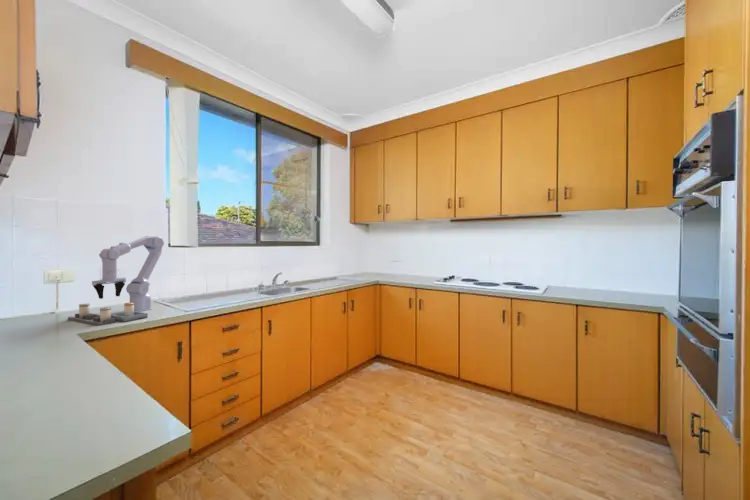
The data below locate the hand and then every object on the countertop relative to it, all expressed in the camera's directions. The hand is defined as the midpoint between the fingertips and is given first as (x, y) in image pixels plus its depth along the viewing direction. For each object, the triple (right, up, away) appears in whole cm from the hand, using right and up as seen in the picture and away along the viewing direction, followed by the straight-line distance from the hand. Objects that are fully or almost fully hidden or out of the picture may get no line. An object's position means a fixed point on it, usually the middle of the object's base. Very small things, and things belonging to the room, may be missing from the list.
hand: (109, 297), depth 170 cm
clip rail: (-1, -10, -8) cm, 13 cm away
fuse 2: (+8, -11, -12) cm, 17 cm away
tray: (+12, -10, -3) cm, 16 cm away
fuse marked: (+12, -10, -3) cm, 16 cm away
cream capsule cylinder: (-9, -10, -5) cm, 14 cm away
